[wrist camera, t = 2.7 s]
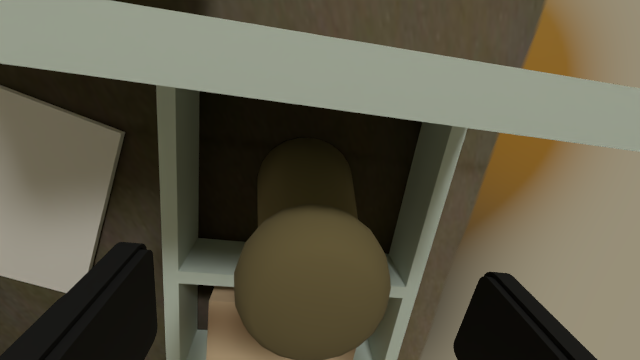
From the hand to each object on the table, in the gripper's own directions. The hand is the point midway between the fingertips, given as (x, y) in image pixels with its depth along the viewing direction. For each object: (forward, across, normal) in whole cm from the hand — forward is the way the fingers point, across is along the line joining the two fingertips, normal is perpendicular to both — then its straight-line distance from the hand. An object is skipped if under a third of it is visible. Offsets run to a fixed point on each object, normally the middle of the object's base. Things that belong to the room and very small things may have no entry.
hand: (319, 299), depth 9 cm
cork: (+11, 0, +1) cm, 11 cm away
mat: (+11, +18, +3) cm, 21 cm away
